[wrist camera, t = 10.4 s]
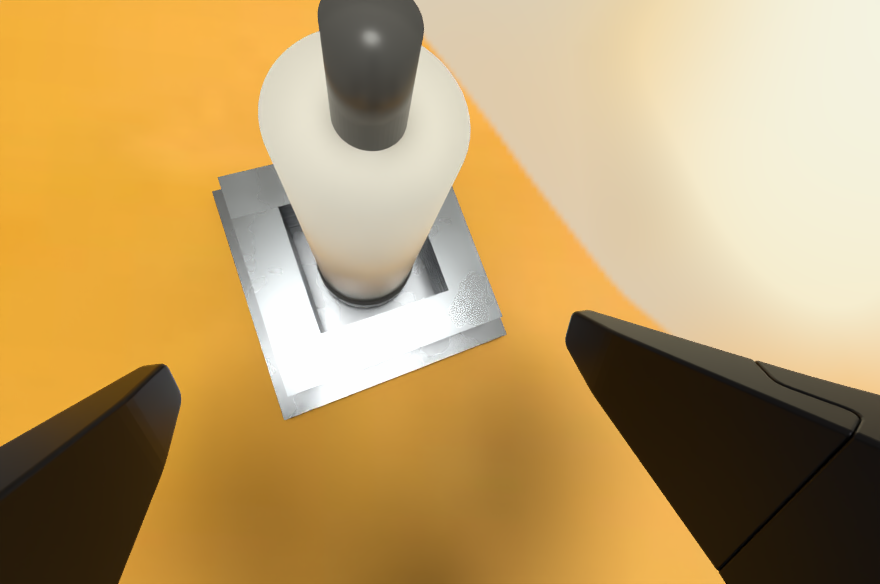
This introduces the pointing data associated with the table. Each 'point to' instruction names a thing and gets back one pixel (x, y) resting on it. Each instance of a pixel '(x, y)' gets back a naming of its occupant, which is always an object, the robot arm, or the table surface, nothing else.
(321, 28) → the white bottle
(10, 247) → the table surface
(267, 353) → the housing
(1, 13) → the table surface
